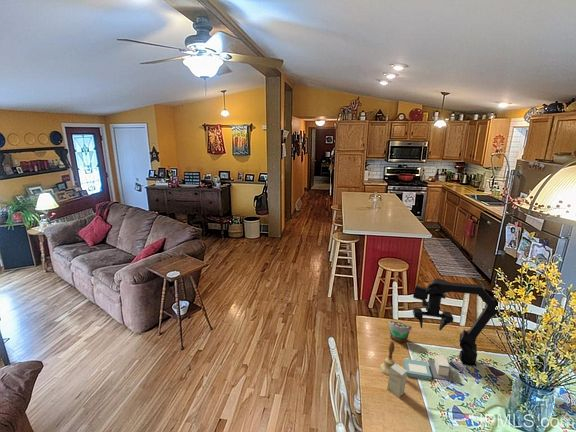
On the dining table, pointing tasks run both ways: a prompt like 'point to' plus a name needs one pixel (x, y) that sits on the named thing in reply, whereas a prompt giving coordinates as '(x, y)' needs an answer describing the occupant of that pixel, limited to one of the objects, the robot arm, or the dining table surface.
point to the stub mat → (435, 375)
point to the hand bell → (388, 360)
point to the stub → (442, 365)
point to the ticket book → (417, 368)
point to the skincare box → (397, 379)
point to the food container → (399, 331)
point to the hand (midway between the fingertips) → (430, 328)
